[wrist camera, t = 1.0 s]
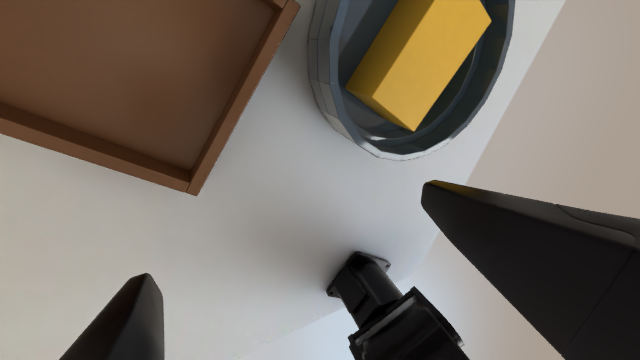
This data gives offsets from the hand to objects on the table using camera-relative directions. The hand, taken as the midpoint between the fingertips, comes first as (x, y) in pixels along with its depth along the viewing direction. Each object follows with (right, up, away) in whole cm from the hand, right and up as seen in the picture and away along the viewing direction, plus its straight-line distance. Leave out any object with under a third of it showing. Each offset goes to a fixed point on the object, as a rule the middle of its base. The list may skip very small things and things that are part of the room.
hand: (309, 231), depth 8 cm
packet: (+7, +12, +13) cm, 18 cm away
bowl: (+6, +12, +13) cm, 19 cm away
